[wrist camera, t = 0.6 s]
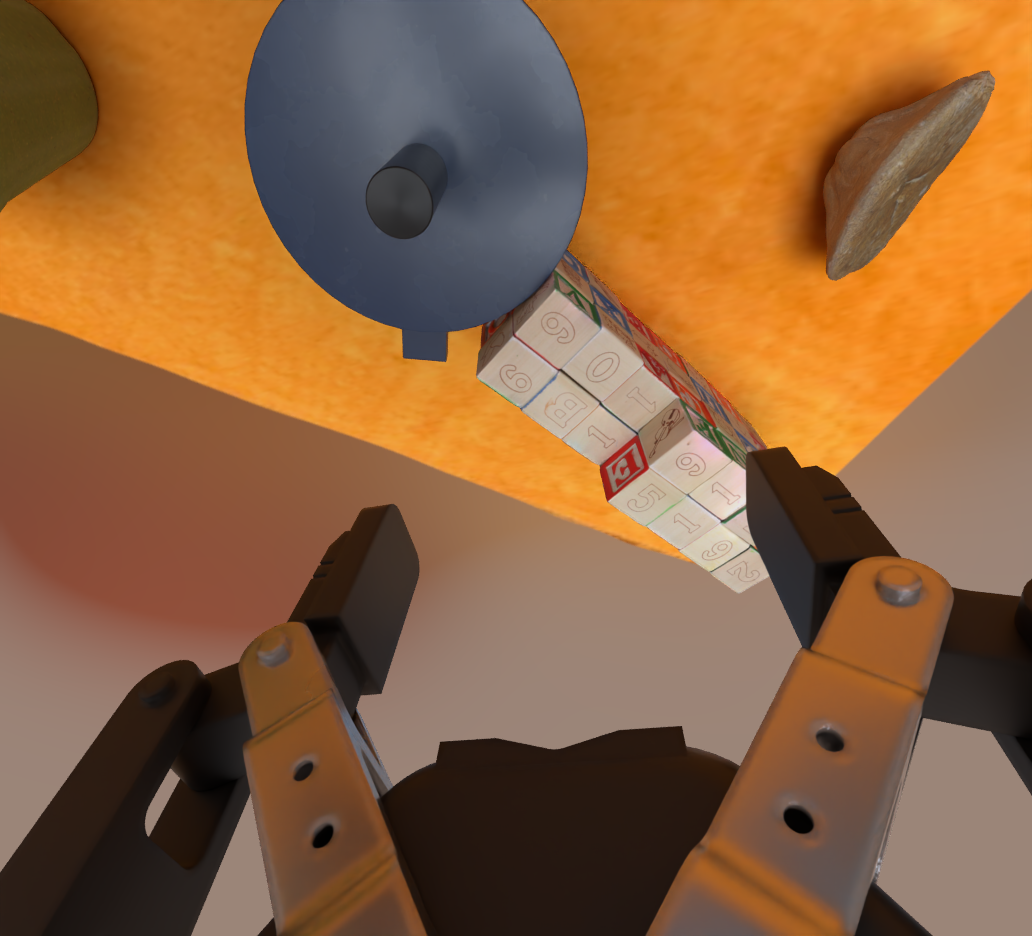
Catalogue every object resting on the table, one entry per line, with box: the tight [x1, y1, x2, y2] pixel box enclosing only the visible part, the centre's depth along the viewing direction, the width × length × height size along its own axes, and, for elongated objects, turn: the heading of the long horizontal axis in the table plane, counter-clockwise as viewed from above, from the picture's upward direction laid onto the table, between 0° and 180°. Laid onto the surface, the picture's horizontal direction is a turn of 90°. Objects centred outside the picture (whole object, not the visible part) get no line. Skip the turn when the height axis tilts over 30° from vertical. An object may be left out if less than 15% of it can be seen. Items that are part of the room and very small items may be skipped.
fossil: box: [823, 71, 995, 280], centre depth 28 cm, size 9×4×10 cm
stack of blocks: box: [476, 250, 769, 593], centre depth 33 cm, size 21×6×12 cm, turn 49°
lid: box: [245, 0, 588, 332], centre depth 22 cm, size 15×15×7 cm
